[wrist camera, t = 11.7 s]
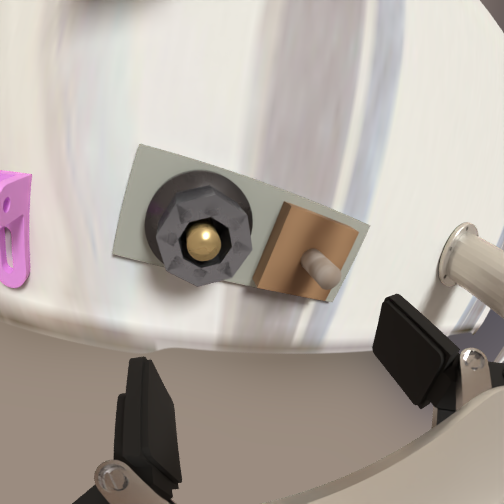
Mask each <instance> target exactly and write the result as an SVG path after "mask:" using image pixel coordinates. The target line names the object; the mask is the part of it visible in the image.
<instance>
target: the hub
mask: <svg viewBox="0 0 504 504" xmlns="http://www.w3.org/2000/svg"><path fill="white" fill-rule="evenodd" d="M208 185H210V186H212V187H213V188H215V189H216V190H218V191H220V192H221V193H223V194H224V195H226V196H227V197H229V198H230V199H232V200H234V201H235V202H237V203H238V205H239V206H240V207H241V208H242V209H243V211H244V212H245V213H246V214H247V216H248V222H249V229H250V235H251V233H252V228H253V217H252V211H251V207H250V204H249V202H248V200H247V198H246V196H245V194H244V193H243V192H242V190H241V189H240V188H239V187H238V186H237V185H236V184H235V183H233V182H232V181H231V180H230V179H228V178H227V177H225V176H223V175H221V174H219V173H216V172H213V171H209V170H190V171H185V172H182V173H179V174H177V175H175V176H173V177H171V178H170V179H168V180H167V181H166V182H164V183H163V184H162V185H161V186H160V187H159V188H158V189H157V191H156V192H155V194H154V195H153V197H152V199H151V201H150V203H149V206H148V209H147V212H146V217H145V234H146V238H147V242H148V244H149V247H150V248H151V250H152V252H153V253H154V255H155V256H156V257H157V258H158V260H159V261H160V262H162V263H163V264H164V262H163V259H162V256H161V253H160V249H159V246H158V243H157V239H156V233H157V228H158V222H159V220H160V218H161V216H162V215H163V213H164V212H165V210H166V208H167V207H168V205H169V203H170V202H171V200H172V199H173V197H174V195H175V194H176V193H177V192H182V191H186V190H190V189H194V188H199V187H203V186H208ZM223 231H224V228H223V224H222V223H220V222H218V221H217V220H215V219H214V218H212V217H208V218H204V219H200V220H195V221H191V222H189V223H188V225H187V226H186V228H185V230H184V231H183V233H182V234H181V239H182V241H184V242H186V243H187V249H188V252H189V254H190V255H191V256H192V257H193V258H194V259H196V260H199V261H208V260H211V259H213V258H214V257H215V256H216V255H217V254H218V253H219V251H220V248H221V241H220V238H219V237H220V235H221V234H222V232H223Z"/></svg>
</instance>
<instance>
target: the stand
mask: <svg viewBox="0 0 504 504" xmlns="http://www.w3.org/2000/svg"><path fill="white" fill-rule="evenodd" d="M358 234H359V232H358V231H357V230H355V229H354V228H352V227H350V226H348V225H346V224H343V223H341V222H338V221H336V220H333V219H331V218H328V217H326V216H323V215H320V214H318V213H315V212H313V211H310V210H307V209H305V208H302V207H299V206H297V205H294V204H291V203H288V202H286V201H284V202H283V205H282V207H281V210H280V212H279V215H278V217H277V219H276V222H275V224H274V227H273V229H272V232H271V234H270V236H269V239H268V241H267V244H266V246H265V249H264V251H263V253H262V256H261V258H260V261H259V263H258V266H257V268H256V270H255V273H254V275H253V278H252V279H253V281H254V283H255V285H256V286H257V288H261V289H266V290H271V291H276V292H281V293H286V294H291V295H296V296H301V297H307V298H312V299H317V300H323V301H325V300H326V299H327V297H328V295H329V293H330V291H331V289H332V288H334V287H335V286H336V285H337V284H338V283H339V282H340V280H341V269H342V267H343V265H344V263H345V261H346V259H347V257H348V255H349V253H350V251H351V249H352V247H353V245H354V242H355V240H356V238H357V236H358Z"/></svg>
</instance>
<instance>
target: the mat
mask: <svg viewBox="0 0 504 504" xmlns="http://www.w3.org/2000/svg"><path fill="white" fill-rule="evenodd" d="M190 170H209V171H213V172H216V173H219V174H221V175H223V176H225V177H227V178H228V179H230V180H231V181H232V182H233V183H235V184H236V185H237V186H238V187H239V188H240V189H241V190H242V192H243V193H244V194H245V196H246V198H247V200H248V202H249V204H250V207H251V211H252V217H253V228H252V233H251V242H252V248H253V250H252V251H251V253H250V254H249V255H248V257H247V258H246V260H245V261H244V262H243V264H242V265H241V266H240V268H239V269H238V271H237V272H236V273H235V275H234V276H233V277H232V278H230V279H226V280H223V281H228V282H232V283H237V284H242V285H246V286H251V287H256V288H257V286H256V285H255V283H254V281H253V279H252V278H253V275H254V273H255V270H256V268H257V266H258V263H259V261H260V258H261V256H262V253H263V251H264V249H265V246H266V244H267V241H268V239H269V236H270V234H271V232H272V229H273V227H274V224H275V222H276V219H277V217H278V215H279V212H280V210H281V207H282V205H283V202H284V201H286V202H288V203H291V204H294V205H297V206H299V207H302V208H305V209H307V210H310V211H313V212H315V213H318V214H320V215H323V216H326V217H328V218H331V219H333V220H336V221H338V222H341V223H343V224H346V225H348V226H350V227H352V228H354V229H355V230H357V231H358V232H359V234H358V236H357V238H356V240H355V242H354V245H353V247H352V249H351V251H350V253H349V255H348V257H347V259H346V261H345V263H344V265H343V267H342V269H341V280H340V282H339V283H338V284H337V285H336V286H335V287H334V288H332V289H331V291H330V293H329V295H328V297H327V299H326V300H325V301H328V302H333V300H334V298H335V296H336V295H337V293H338V291H339V289H340V287H341V285H342V283H343V281H344V279H345V277H346V275H347V273H348V271H349V269H350V267H351V265H352V263H353V261H354V259H355V257H356V255H357V253H358V251H359V249H360V247H361V245H362V243H363V241H364V238H365V236H366V234H367V232H368V230H369V227H370V225H368V224H366V223H363V222H361V221H359V220H357V219H354V218H352V217H350V216H347V215H345V214H343V213H340V212H338V211H336V210H333V209H331V208H328V207H326V206H324V205H321V204H319V203H316V202H314V201H311V200H309V199H306V198H304V197H301V196H298V195H296V194H293V193H291V192H288V191H285V190H283V189H280V188H277V187H275V186H272V185H269V184H266V183H264V182H261V181H258V180H255V179H252V178H250V177H247V176H244V175H241V174H238V173H235V172H232V171H229V170H226V169H223V168H220V167H217V166H214V165H211V164H208V163H205V162H201V161H198V160H195V159H192V158H188V157H185V156H182V155H178V154H175V153H171V152H168V151H164V150H161V149H157V148H154V147H150V146H146V145H143V144H139V147H138V150H137V153H136V157H135V160H134V163H133V167H132V170H131V174H130V177H129V181H128V185H127V188H126V192H125V196H124V200H123V204H122V209H121V213H120V217H119V222H118V227H117V232H116V237H115V242H114V247H113V253H112V254H114V255H118V256H122V257H125V258H129V259H133V260H137V261H141V262H145V263H150V264H154V265H158V266H162V267H165V266H164V264H163V263H162V262H160V261H159V260H158V258H157V257H156V256H155V255H154V253H153V252H152V250H151V248H150V247H149V244H148V242H147V238H146V234H145V217H146V212H147V209H148V206H149V203H150V201H151V199H152V197H153V195H154V194H155V192H156V191H157V189H158V188H159V187H160V186H161V185H162V184H163V183H164V182H166V181H167V180H168V179H170V178H171V177H173V176H175V175H177V174H179V173H182V172H185V171H190ZM306 298H307V297H306ZM322 301H323V300H322Z"/></svg>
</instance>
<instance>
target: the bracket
mask: <svg viewBox="0 0 504 504" xmlns="http://www.w3.org/2000/svg"><path fill="white" fill-rule="evenodd" d="M31 180H32V174H27V173H19V172H11V171H2V170H0V281H1V282H2V283H3V284H4V285H6V286H8V287H11V288H17V287H20V286H21V285H22V284H23V283H24V282H25V280H26V279H27V278H28V276H29V273H30V251H29V209H30V191H31ZM5 227H7V228H8V229H9V230H10V232H11V238H12V256H13V267H14V268H11V267H10V266H9V265H8V263H7V259H6V245H5Z"/></svg>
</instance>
